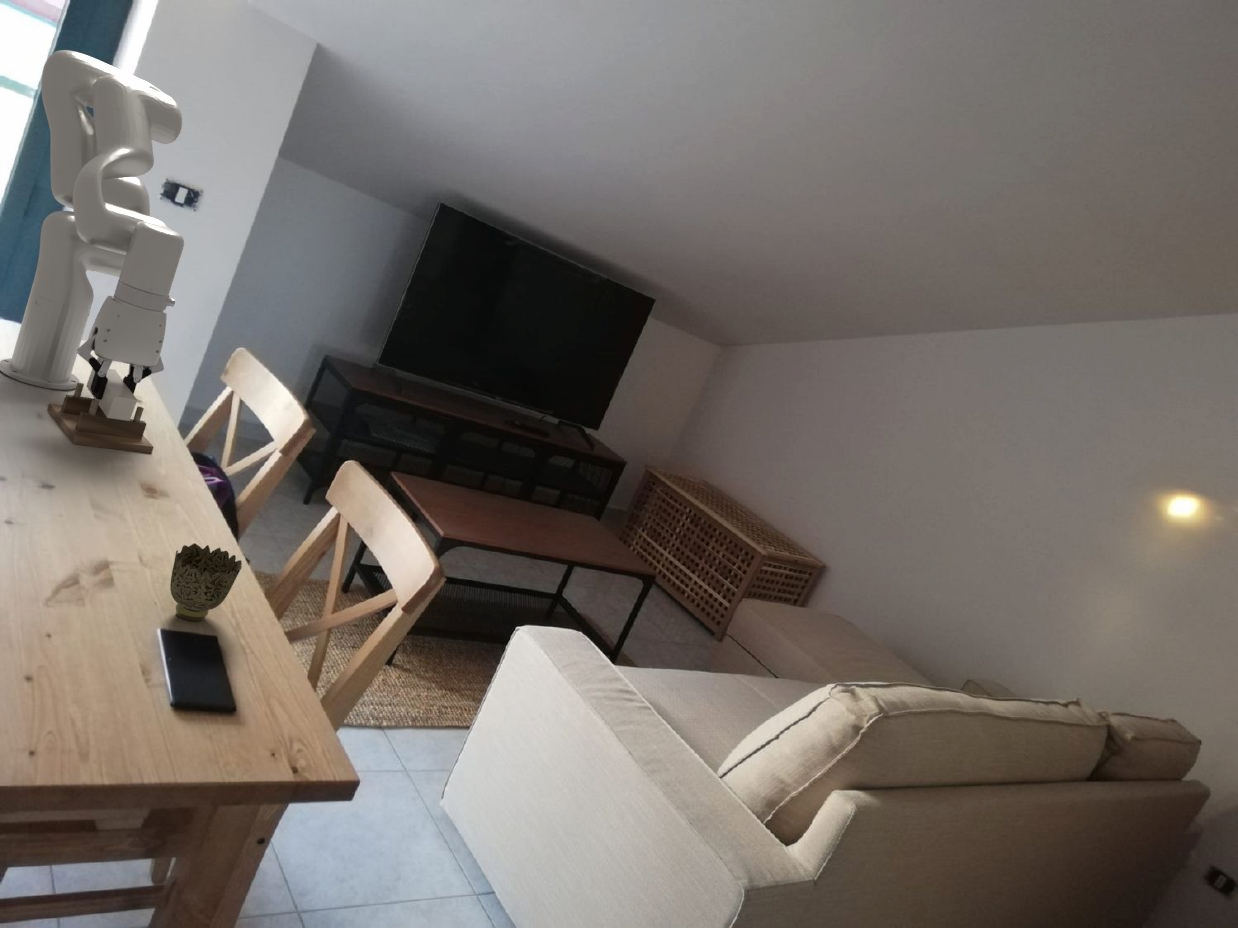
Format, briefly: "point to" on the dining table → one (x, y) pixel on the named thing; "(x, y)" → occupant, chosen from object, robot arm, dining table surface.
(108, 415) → the white rectangular block
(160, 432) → the dining table surface
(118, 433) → the walnut rack
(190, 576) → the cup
